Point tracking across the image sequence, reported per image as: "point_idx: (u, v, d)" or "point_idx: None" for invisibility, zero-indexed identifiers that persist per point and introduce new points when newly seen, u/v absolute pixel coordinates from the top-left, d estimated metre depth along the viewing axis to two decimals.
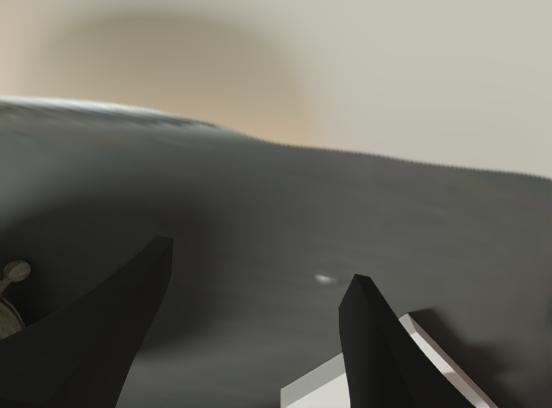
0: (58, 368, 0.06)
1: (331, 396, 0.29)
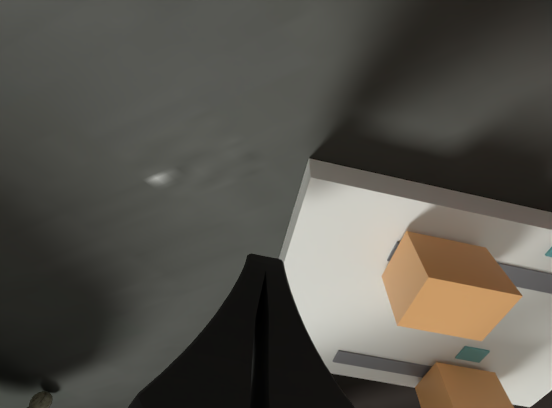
0: (235, 396, 0.07)
1: None
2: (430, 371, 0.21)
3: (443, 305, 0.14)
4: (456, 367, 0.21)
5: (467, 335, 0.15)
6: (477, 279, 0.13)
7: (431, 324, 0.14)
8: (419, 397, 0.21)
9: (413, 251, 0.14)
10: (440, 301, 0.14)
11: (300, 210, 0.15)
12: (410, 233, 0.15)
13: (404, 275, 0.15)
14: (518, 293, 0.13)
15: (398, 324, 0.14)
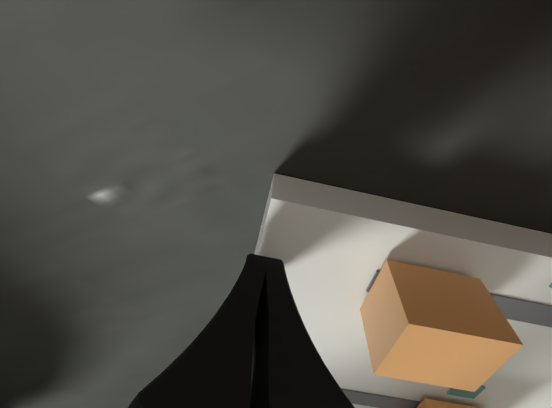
0: (235, 396, 0.07)
1: None
2: None
3: (428, 353, 0.11)
4: (448, 403, 0.19)
5: (457, 385, 0.12)
6: (468, 323, 0.11)
7: (414, 374, 0.12)
8: None
9: (393, 287, 0.12)
10: (423, 350, 0.11)
11: (262, 235, 0.13)
12: (391, 262, 0.13)
13: (383, 314, 0.12)
14: (518, 341, 0.11)
15: (375, 373, 0.12)
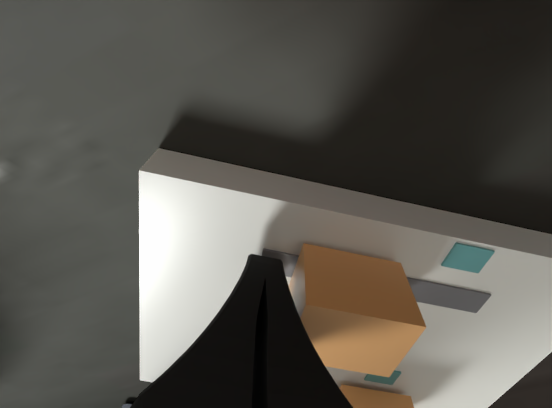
0: (237, 397, 0.07)
1: (170, 338, 0.17)
2: None
3: (333, 336, 0.11)
4: (365, 389, 0.18)
5: (370, 370, 0.12)
6: (373, 305, 0.11)
7: (324, 358, 0.12)
8: None
9: (303, 269, 0.12)
10: (328, 332, 0.11)
11: (140, 210, 0.13)
12: (309, 245, 0.13)
13: (295, 297, 0.12)
14: (422, 323, 0.11)
15: None
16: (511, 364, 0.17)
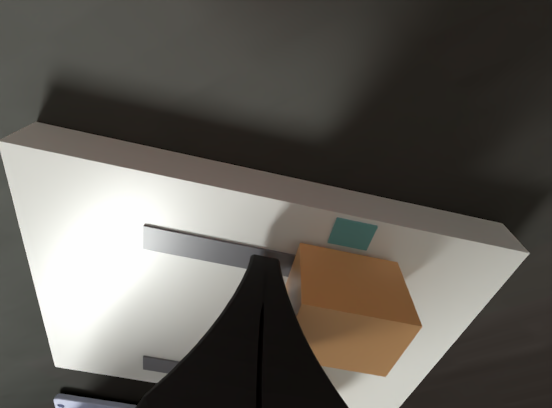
0: (241, 397, 0.07)
1: (74, 322, 0.17)
2: None
3: (329, 336, 0.11)
4: None
5: (367, 370, 0.12)
6: (369, 305, 0.11)
7: (320, 358, 0.12)
8: None
9: (299, 269, 0.12)
10: (324, 332, 0.11)
11: (11, 185, 0.12)
12: (305, 245, 0.13)
13: (291, 297, 0.12)
14: (418, 322, 0.11)
15: None
16: (423, 348, 0.16)
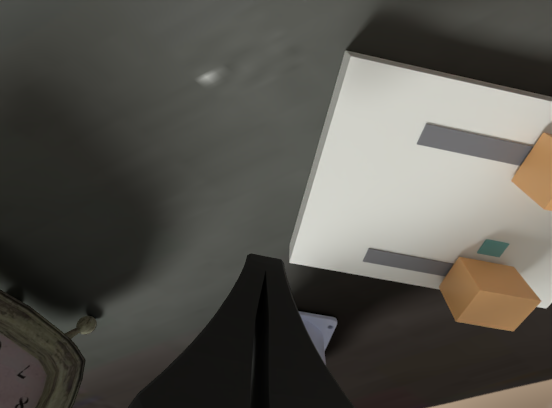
0: (235, 396, 0.07)
1: (327, 216, 0.21)
2: (454, 266, 0.23)
3: None
4: (478, 261, 0.23)
5: None
6: None
7: None
8: (443, 293, 0.23)
9: None
10: None
11: (339, 93, 0.17)
12: (546, 134, 0.18)
13: (547, 167, 0.17)
14: None
15: (545, 208, 0.17)
16: None
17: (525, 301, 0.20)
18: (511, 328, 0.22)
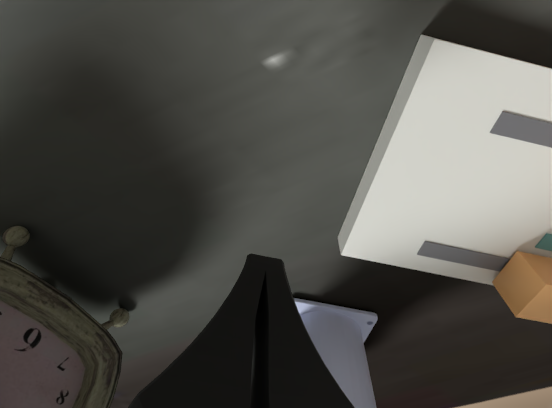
0: (235, 396, 0.07)
1: (387, 207, 0.21)
2: (511, 261, 0.22)
3: None
4: (535, 256, 0.22)
5: None
6: None
7: None
8: (498, 288, 0.23)
9: None
10: None
11: (417, 77, 0.17)
12: None
13: None
14: None
15: None
16: None
17: None
18: None
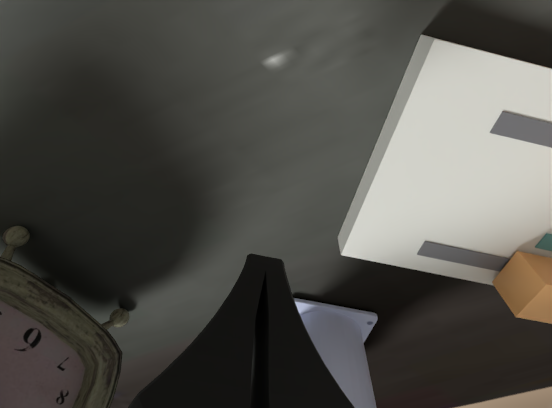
0: (235, 396, 0.07)
1: (387, 207, 0.21)
2: (511, 261, 0.22)
3: None
4: (535, 256, 0.22)
5: None
6: None
7: None
8: (498, 288, 0.23)
9: None
10: None
11: (417, 77, 0.17)
12: None
13: None
14: None
15: None
16: None
17: None
18: None
